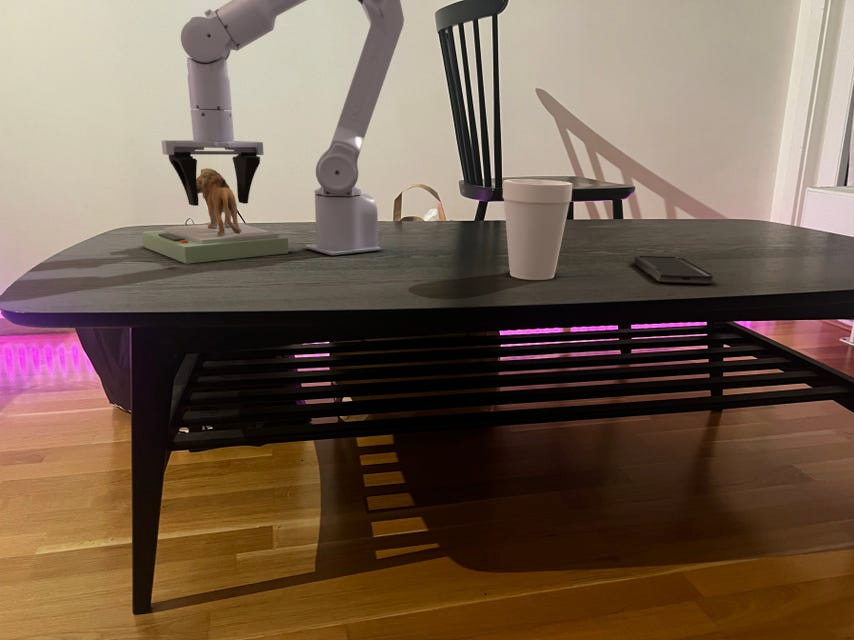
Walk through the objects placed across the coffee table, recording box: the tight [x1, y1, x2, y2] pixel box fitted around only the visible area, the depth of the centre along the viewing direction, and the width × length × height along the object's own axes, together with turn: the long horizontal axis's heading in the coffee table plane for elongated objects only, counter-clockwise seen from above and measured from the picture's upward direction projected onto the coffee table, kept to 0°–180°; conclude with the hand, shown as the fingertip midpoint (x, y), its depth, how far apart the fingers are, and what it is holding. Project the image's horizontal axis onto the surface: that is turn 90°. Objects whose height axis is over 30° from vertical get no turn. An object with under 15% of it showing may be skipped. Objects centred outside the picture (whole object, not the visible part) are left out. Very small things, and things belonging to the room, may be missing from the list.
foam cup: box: [502, 178, 573, 281], centre depth 98 cm, size 10×9×13 cm
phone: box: [633, 255, 714, 285], centre depth 105 cm, size 8×1×15 cm
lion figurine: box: [196, 167, 242, 235], centre depth 107 cm, size 15×5×9 cm, turn 38°
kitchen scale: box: [142, 222, 289, 265], centre depth 108 cm, size 16×16×3 cm
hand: (219, 204), depth 107 cm, fingers open, 7 cm apart
